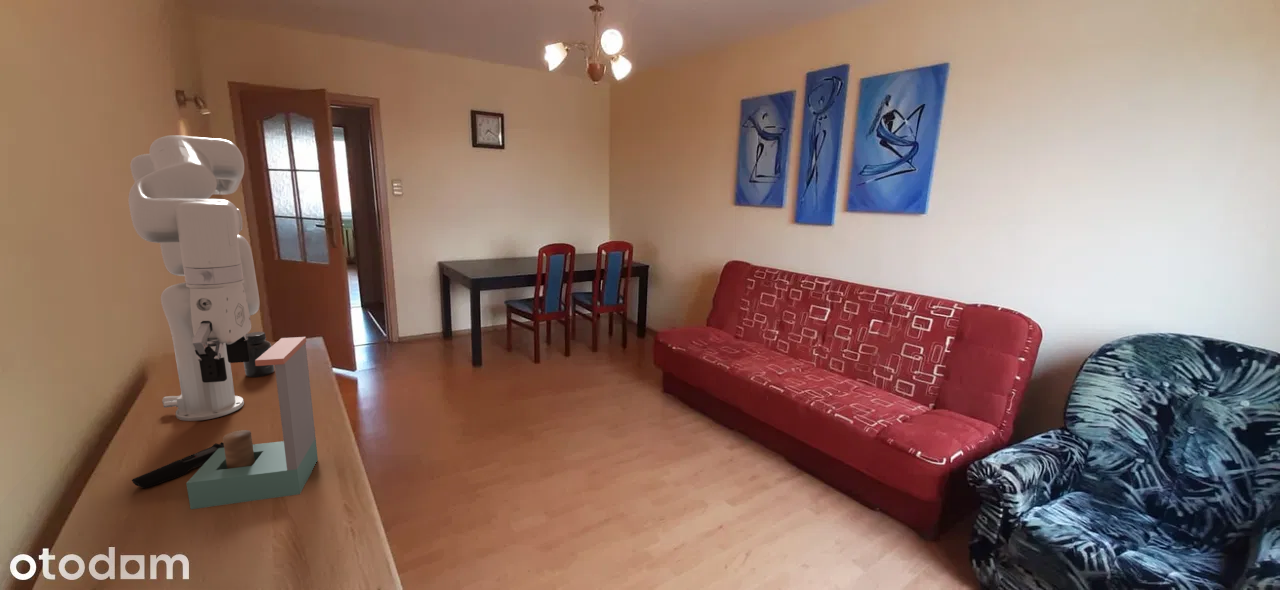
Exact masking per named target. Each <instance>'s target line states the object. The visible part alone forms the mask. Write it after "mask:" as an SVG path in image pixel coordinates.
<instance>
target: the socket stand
mask: <svg viewBox="0 0 1280 590" xmlns="http://www.w3.org/2000/svg"><path fill="white" fill-rule="evenodd" d="M306 343H307V337H306V336H298V337H297V336H296V337H295V336H294V337H281V338H280V339H279V340H278V341H276V342H275V343H274V344H273V345H271V347H270V348H269V349H268V350H267V351H266V352H264V353H263V354H262V355H261V356H260V357H258V358H257V359H256V360H255V364H256V366H264V365H274V372H275V379H276V387H277V396H278V397H277V398H278V405H279V414H280V421H281V430H282V437H283V441H282V440H281V441H275V442H272V441H271V442H263V443H255V444H253V451H254V458H255V463H254V464H253V465H252V466H247V467H238V468H230V469H227V464H226V457H225V450H224V448H218V449H217V451H216V452H215V453H214V454H213V455H212V456H211V457H210V458H209V459H208V460H207V461H206V462H205V463H204V464H203V465H201V466H200V467H199V468H198V469H197V470H196V472H195V473H194V474H193V475H192V476H191V477H190V478H189V479H188V480H187V482H186V483H185V484H186V491H187V495H188V500H189V501H188V503H189V506H190V507H189V508H190V510H196V509H205V508H210V507H217V506H218V507H219V506H225V505H231V504H233V505H234V504H238V503H239V504H240V503H246V502H254V501H261V500H269V499H274V498H275V499H276V498H282V497H290V496H296V495H300V494H301V493H302V491H303V489H304V488H305V485H306V483H307V482H308V481H309V478H310V476H311V474H312V472H313V471H312V470H314V469H313V468H315V467H316V465H317V463H318V461H319V460H318V449H317V439H316V430H315V419H314V411H313V401H312V393H311V392H312V391H311V383H310V382H311V381H310V373H309V363H308V361H309V360H308V353H307V351H308V350H307V344H306ZM317 460H318V461H317ZM316 462H317V463H316ZM315 464H316V465H315ZM314 466H315V467H314Z"/></svg>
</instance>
